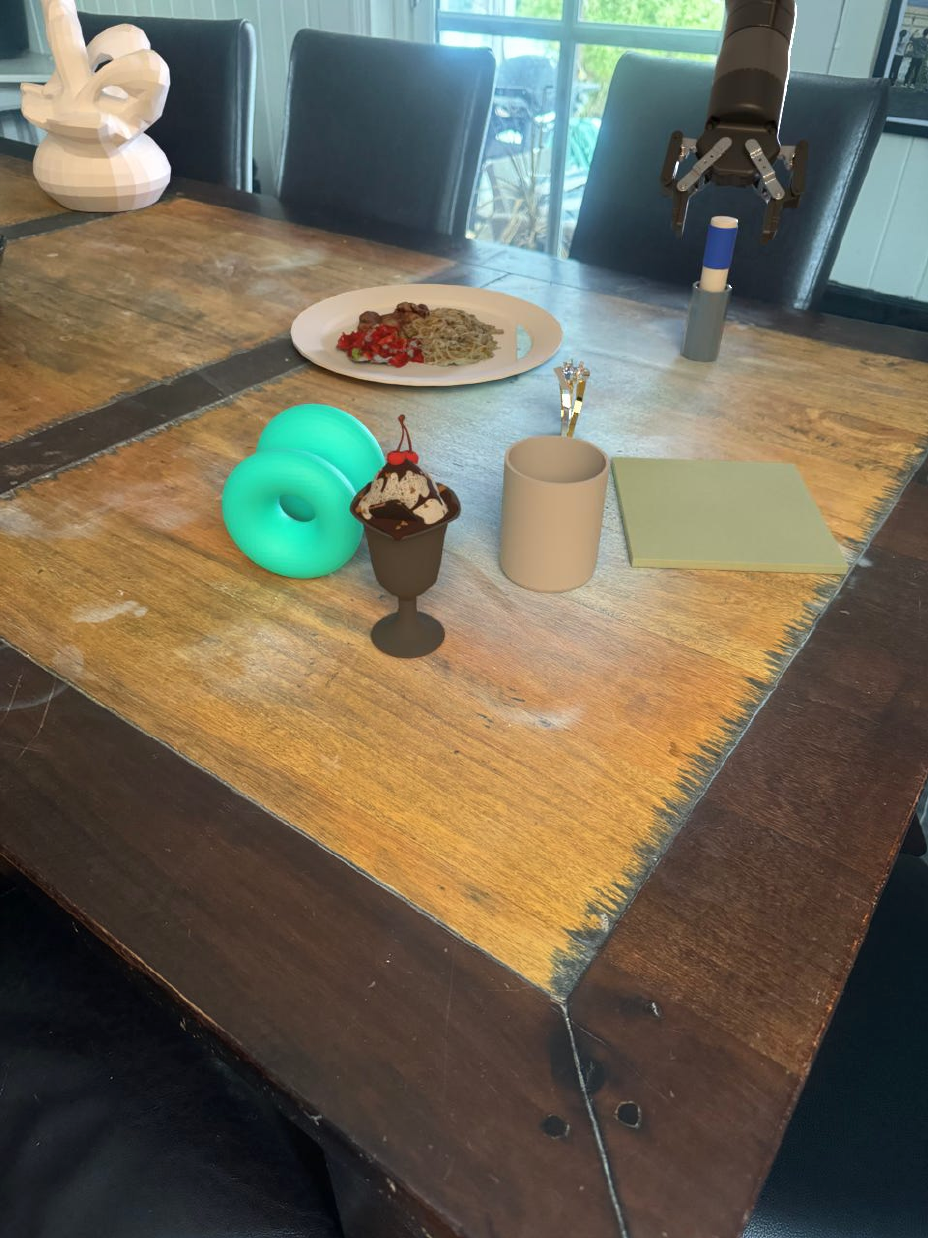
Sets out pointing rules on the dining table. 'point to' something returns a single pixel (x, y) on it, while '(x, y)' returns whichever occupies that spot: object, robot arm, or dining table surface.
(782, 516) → the mat
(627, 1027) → the dining table surface
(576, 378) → the ring
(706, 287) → the marker
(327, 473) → the donuts
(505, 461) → the cup
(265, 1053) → the dining table surface
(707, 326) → the grey hollow cylinder
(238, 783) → the dining table surface
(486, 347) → the plated food
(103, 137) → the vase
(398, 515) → the sundae
